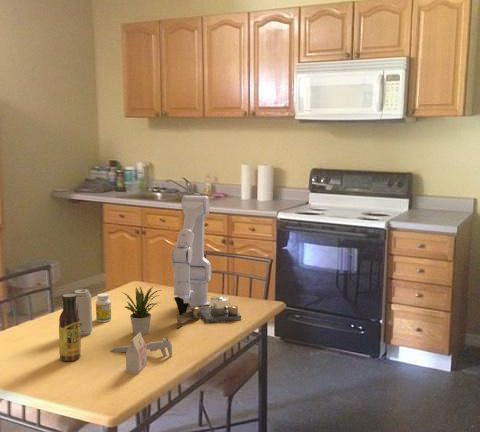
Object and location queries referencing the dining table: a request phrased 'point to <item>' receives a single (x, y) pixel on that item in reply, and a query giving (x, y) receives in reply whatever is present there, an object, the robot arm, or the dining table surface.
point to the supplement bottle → (103, 308)
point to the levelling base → (216, 317)
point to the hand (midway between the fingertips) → (182, 316)
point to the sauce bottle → (69, 330)
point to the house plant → (141, 311)
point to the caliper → (151, 347)
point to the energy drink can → (84, 311)
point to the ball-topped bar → (189, 314)
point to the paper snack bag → (136, 355)
